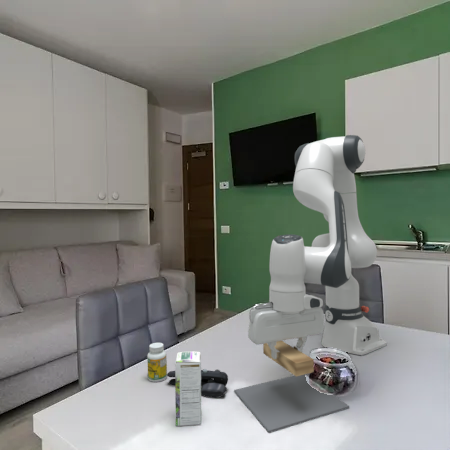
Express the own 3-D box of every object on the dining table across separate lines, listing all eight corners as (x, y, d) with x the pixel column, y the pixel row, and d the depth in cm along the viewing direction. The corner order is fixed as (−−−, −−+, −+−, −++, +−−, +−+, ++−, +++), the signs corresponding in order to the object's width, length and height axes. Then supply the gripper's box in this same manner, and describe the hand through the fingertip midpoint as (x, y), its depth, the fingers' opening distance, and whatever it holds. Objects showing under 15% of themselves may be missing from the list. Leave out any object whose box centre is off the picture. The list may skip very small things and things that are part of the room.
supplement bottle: (170, 376, 96) (170, 343, 96) (157, 384, 92) (156, 350, 92) (157, 371, 99) (156, 340, 99) (143, 379, 95) (143, 346, 95)
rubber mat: (303, 374, 96) (303, 373, 96) (349, 408, 79) (349, 406, 79) (234, 391, 87) (234, 389, 87) (268, 433, 71) (268, 430, 71)
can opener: (232, 388, 90) (232, 367, 90) (223, 401, 83) (222, 379, 83) (174, 377, 96) (174, 358, 96) (161, 389, 90) (161, 369, 89)
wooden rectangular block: (313, 372, 78) (313, 359, 78) (296, 376, 75) (296, 363, 75) (279, 350, 90) (279, 339, 90) (263, 353, 88) (263, 342, 88)
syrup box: (177, 411, 79) (175, 351, 79) (201, 410, 80) (200, 350, 79) (175, 427, 73) (173, 362, 73) (202, 425, 74) (201, 361, 73)
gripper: (255, 308, 75) (255, 368, 76) (328, 299, 83) (328, 354, 84) (243, 301, 81) (243, 357, 82) (312, 294, 89) (312, 345, 89)
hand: (287, 355), depth 83 cm, fingers closed on wooden rectangular block, 5 cm apart
